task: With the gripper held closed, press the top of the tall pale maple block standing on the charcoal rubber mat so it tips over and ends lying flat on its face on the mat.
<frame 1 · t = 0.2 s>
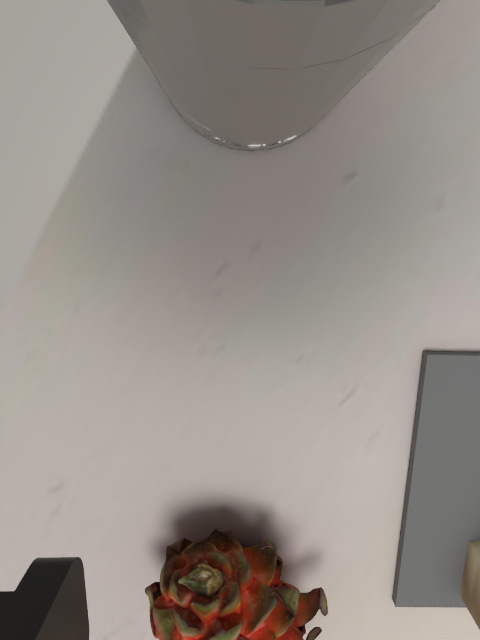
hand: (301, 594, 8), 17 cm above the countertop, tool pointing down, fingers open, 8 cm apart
dragon fruit: (239, 568, 29), on the countertop
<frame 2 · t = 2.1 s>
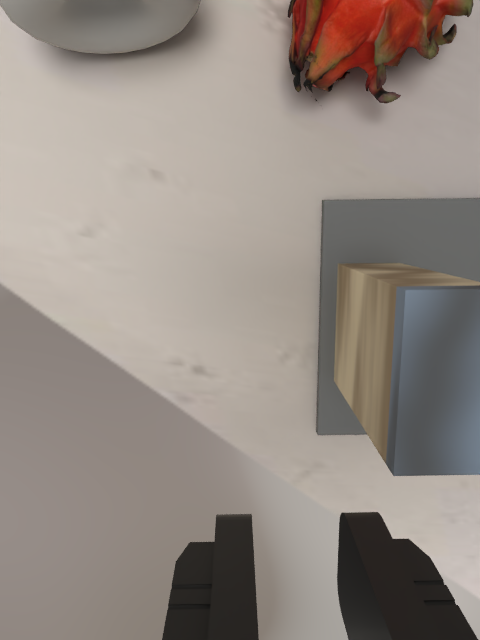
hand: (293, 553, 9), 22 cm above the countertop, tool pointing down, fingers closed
donut: (126, 30, 27), on the countertop
dragon fruit: (358, 29, 27), on the countertop
maple block: (365, 323, 30), point 1 cm above the countertop, touching rubber mat
rubber mat: (443, 320, 31), on the countertop
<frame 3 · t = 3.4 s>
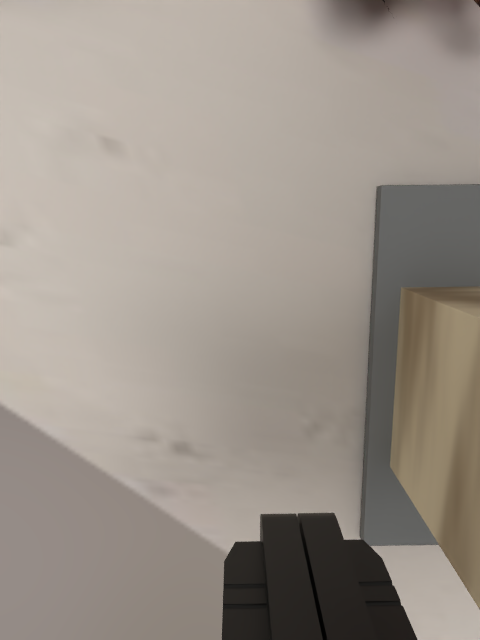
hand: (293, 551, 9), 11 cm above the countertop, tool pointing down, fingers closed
maple block: (442, 380, 19), point 1 cm above the countertop, touching rubber mat
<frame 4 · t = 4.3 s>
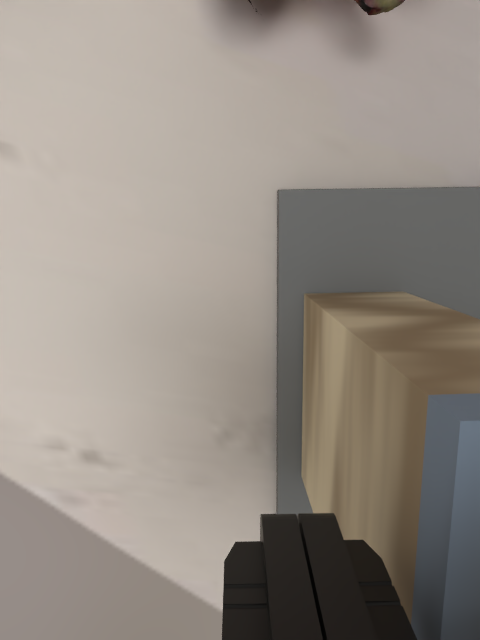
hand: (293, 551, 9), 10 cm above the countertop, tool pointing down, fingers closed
maple block: (350, 387, 19), point 1 cm above the countertop, touching gripper, rubber mat
rubber mat: (473, 379, 20), on the countertop
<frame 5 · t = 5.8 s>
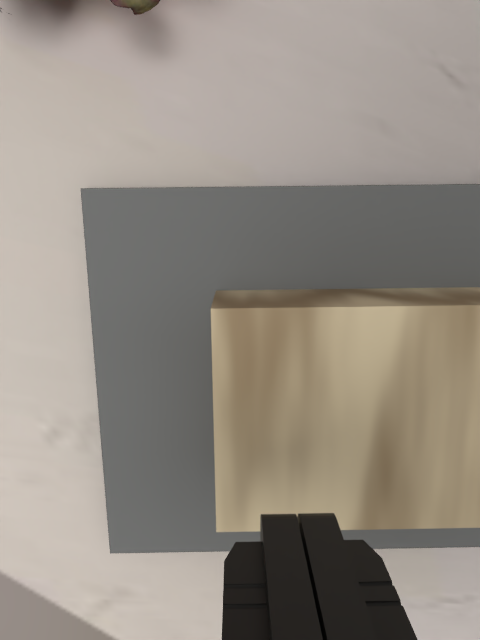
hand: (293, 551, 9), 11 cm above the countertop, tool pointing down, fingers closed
maple block: (216, 403, 17), point 3 cm above the countertop, tilted 90°, touching rubber mat
rubber mat: (297, 379, 20), on the countertop
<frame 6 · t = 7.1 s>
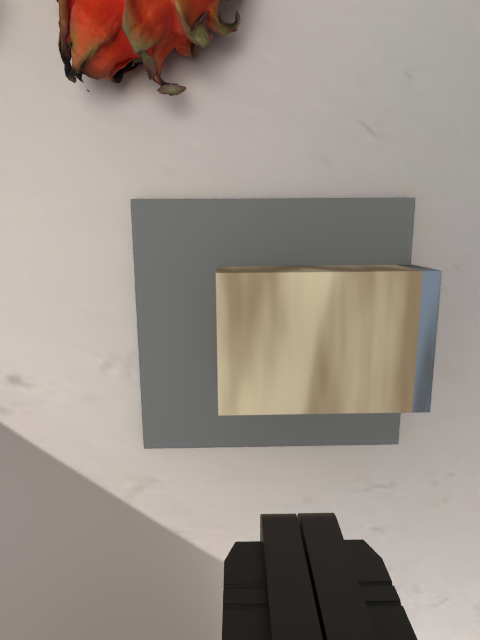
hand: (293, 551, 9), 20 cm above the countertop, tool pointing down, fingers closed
dragon fruit: (159, 17, 26), on the countertop
maple block: (217, 337, 27), point 3 cm above the countertop, tilted 90°, touching rubber mat
rubber mat: (271, 327, 29), on the countertop
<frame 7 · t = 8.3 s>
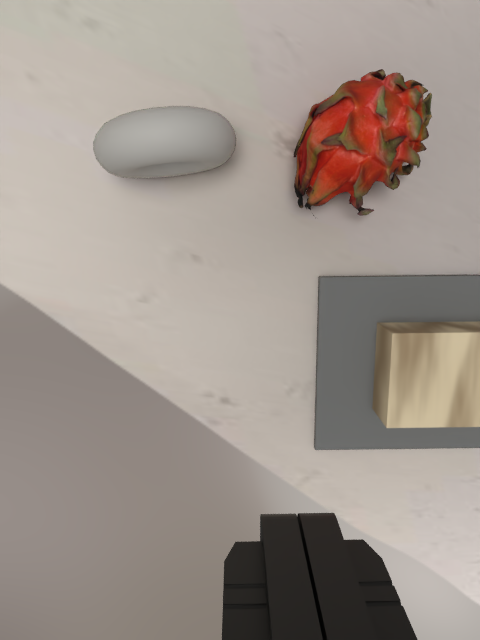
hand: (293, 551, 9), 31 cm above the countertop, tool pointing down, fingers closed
donut: (175, 156, 37), on the countertop
dragon fruit: (345, 154, 38), on the countertop
maple block: (381, 373, 38), point 3 cm above the countertop, tilted 90°, touching rubber mat
rubber mat: (410, 364, 41), on the countertop
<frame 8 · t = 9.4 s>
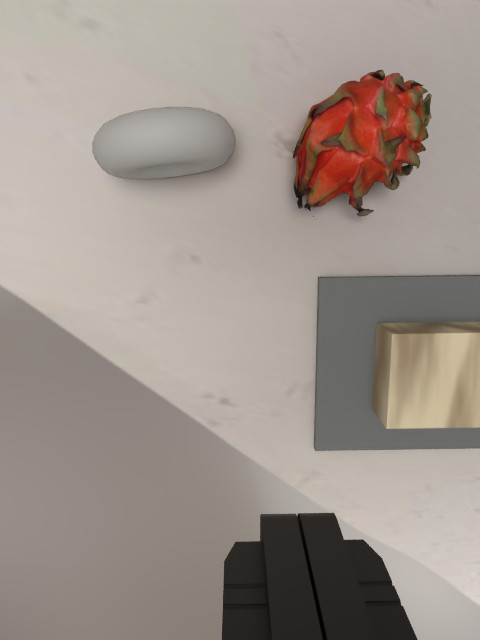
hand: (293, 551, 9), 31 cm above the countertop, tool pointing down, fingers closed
donut: (174, 157, 37), on the countertop
dragon fruit: (344, 155, 37), on the countertop
maple block: (381, 374, 38), point 3 cm above the countertop, tilted 90°, touching rubber mat
rubber mat: (410, 364, 41), on the countertop
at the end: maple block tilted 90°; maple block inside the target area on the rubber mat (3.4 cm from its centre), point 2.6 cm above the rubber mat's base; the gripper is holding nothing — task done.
